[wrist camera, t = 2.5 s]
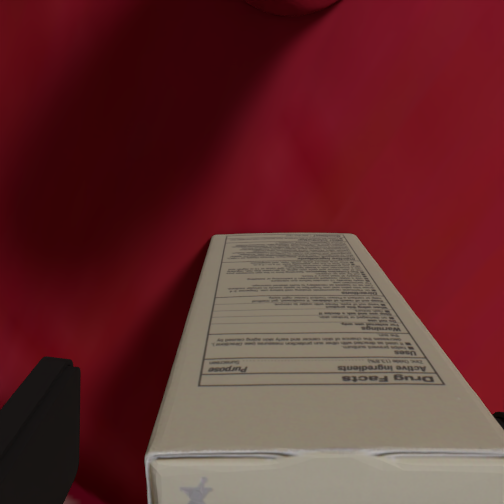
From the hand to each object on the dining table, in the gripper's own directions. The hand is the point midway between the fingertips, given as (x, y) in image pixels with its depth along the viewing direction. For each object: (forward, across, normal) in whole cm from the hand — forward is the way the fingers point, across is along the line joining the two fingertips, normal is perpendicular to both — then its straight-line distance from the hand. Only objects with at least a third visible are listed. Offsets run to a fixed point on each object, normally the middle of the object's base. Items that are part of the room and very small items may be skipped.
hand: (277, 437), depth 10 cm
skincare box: (+10, -1, 0) cm, 10 cm away
